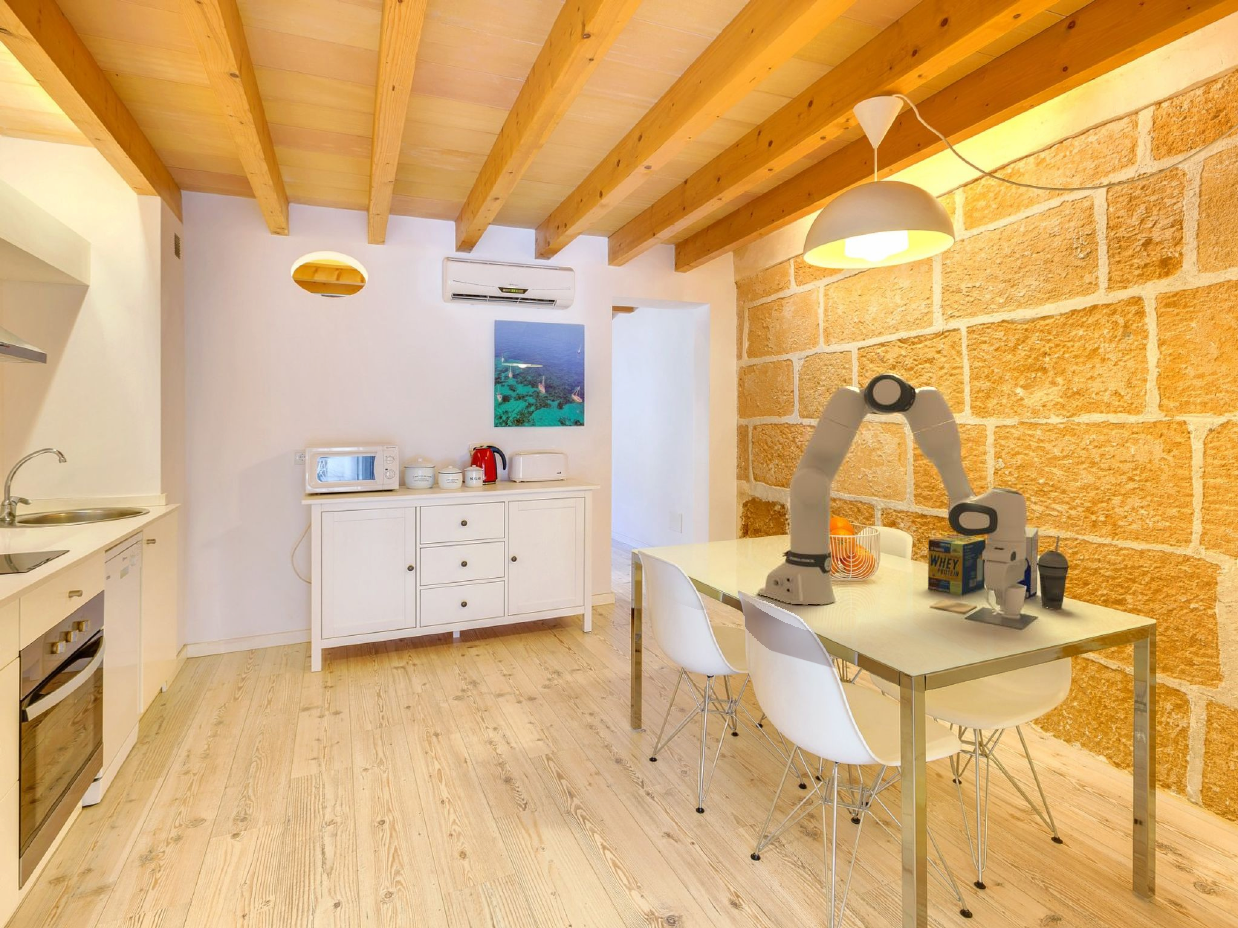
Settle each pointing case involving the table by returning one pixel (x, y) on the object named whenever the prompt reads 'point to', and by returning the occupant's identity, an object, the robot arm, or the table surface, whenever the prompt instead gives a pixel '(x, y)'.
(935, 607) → the cork pad
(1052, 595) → the beverage cup
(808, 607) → the table surface
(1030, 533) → the milk carton
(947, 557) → the protein box
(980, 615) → the tile
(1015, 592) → the cup
